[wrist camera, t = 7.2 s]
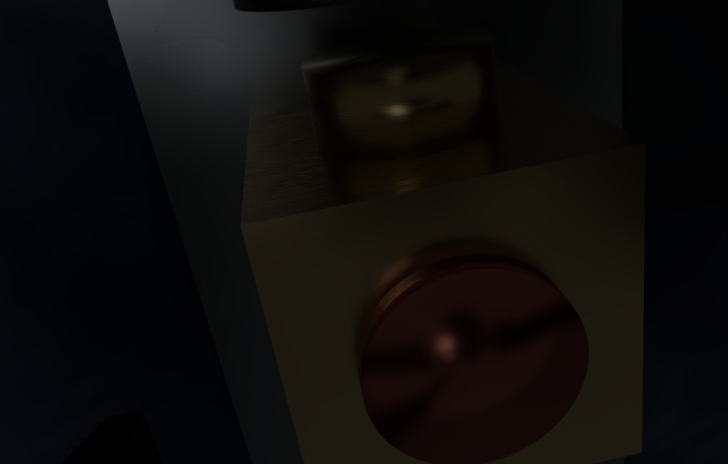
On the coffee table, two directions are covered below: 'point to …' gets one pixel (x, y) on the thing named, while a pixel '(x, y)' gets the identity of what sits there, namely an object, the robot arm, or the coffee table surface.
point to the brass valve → (448, 259)
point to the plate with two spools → (286, 92)
